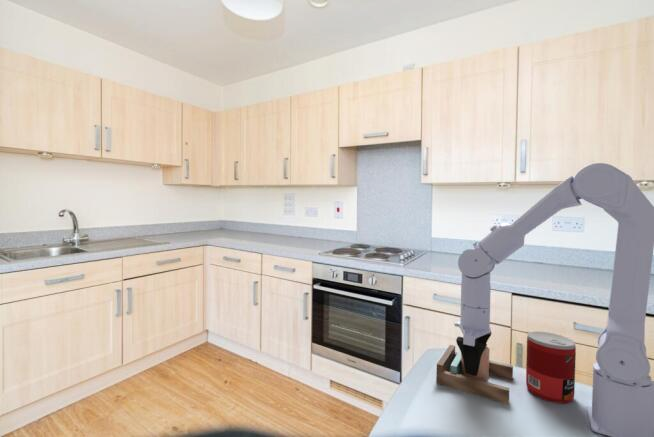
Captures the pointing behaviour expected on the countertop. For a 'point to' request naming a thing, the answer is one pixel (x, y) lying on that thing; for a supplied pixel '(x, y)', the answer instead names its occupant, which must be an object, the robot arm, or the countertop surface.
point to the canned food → (551, 366)
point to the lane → (470, 383)
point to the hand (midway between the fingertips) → (473, 368)
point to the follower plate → (456, 364)
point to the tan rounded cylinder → (483, 367)
